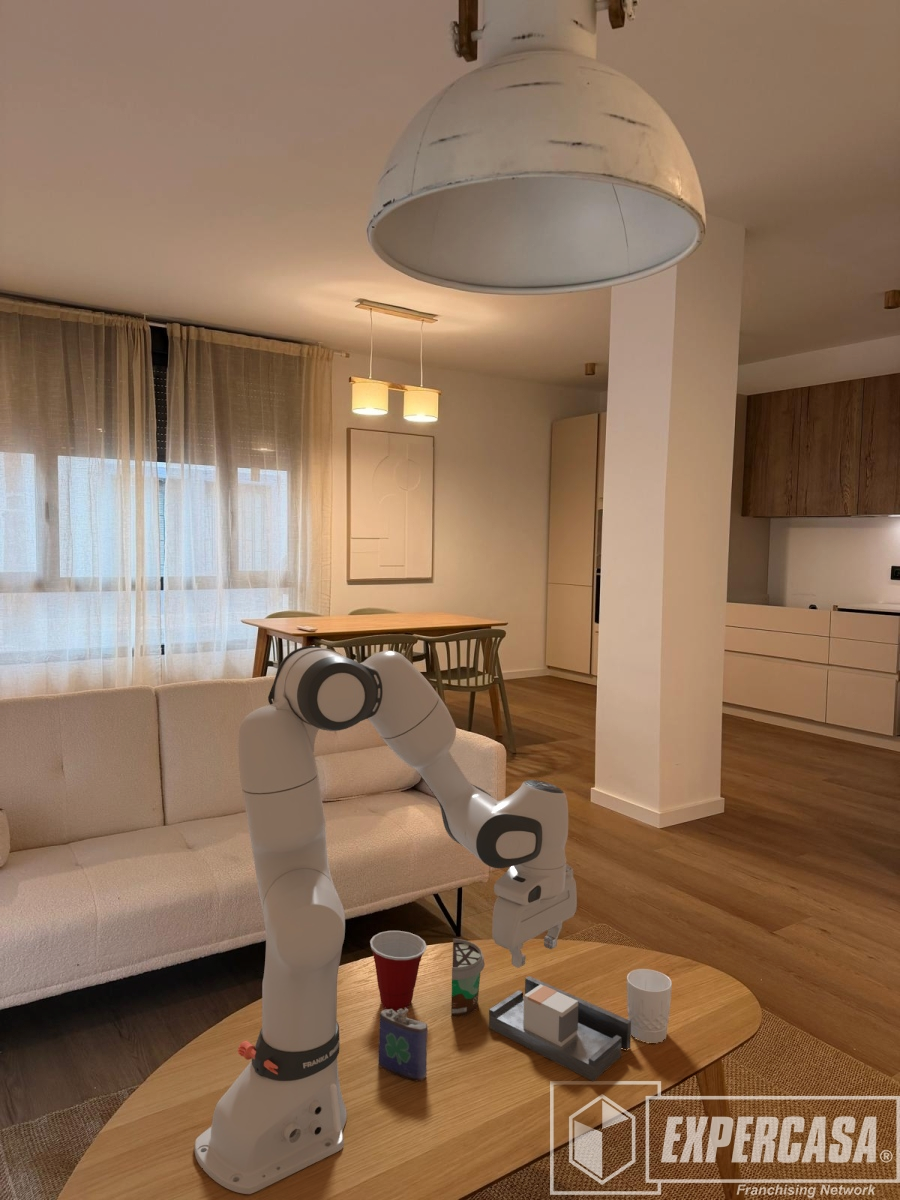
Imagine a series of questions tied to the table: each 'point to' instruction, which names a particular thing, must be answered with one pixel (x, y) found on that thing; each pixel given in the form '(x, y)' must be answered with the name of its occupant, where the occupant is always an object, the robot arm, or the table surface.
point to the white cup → (648, 1004)
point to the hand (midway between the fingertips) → (534, 956)
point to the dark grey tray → (580, 1054)
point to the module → (550, 1015)
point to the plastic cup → (397, 966)
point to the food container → (465, 977)
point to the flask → (402, 1045)
